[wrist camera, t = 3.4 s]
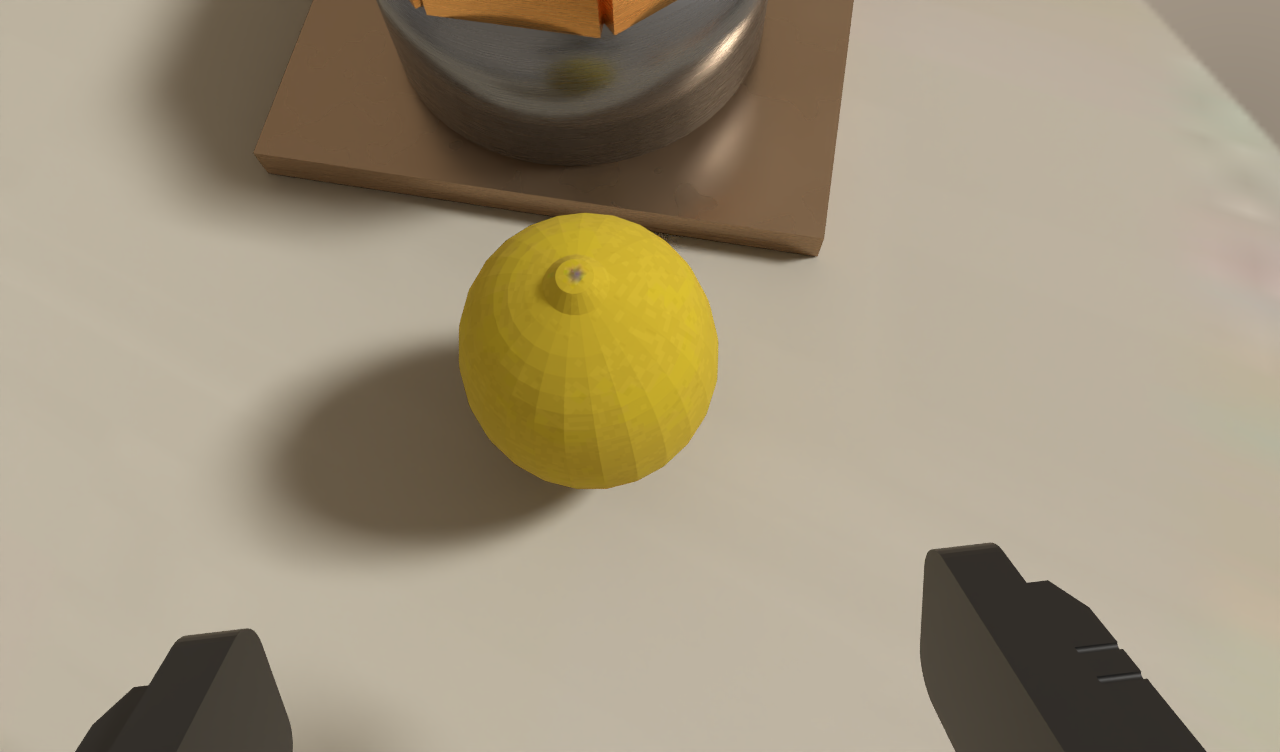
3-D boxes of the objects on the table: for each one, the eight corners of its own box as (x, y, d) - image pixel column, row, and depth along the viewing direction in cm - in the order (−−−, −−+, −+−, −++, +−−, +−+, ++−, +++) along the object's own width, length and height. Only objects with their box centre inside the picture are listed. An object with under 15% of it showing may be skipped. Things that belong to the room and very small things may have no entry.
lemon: (680, 543, 21) (693, 461, 14) (467, 488, 22) (369, 382, 15) (728, 341, 23) (763, 173, 16) (530, 296, 24) (473, 113, 16)
